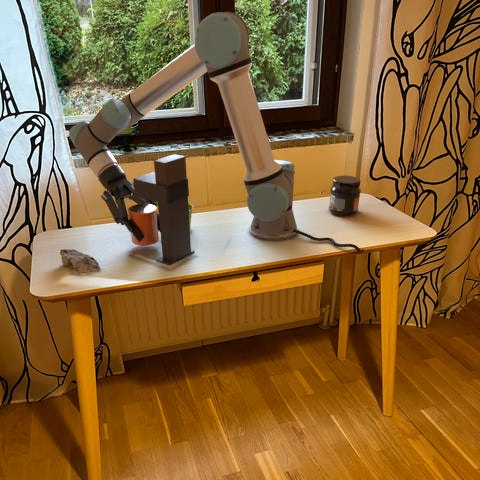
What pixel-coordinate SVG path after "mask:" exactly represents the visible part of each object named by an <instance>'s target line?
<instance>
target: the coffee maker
mask: <svg viewBox="0 0 480 480" xmlns="http://www.w3.org/2000/svg"><path fill="white" fill-rule="evenodd" d="M153 168H154V169H153V170H154V171H152V172H149V173H146V174H143V175H140V176H137V177H134V178H133V180H132V182H134V189H135V196H136V197H139V198H143V199H147V200H150V201H154V202H157V204H158V205H157V211H158V212H157V213H158V214H159V223H160V232H159V234H160V240H159V241H158V242H157V243H155V244H152V245H145V246H141V245H138V246H136V248H133V249H131V250H129V251H128V252H129V253H133V254H135V255H138V256H141V257H144V258H147V259H149V260H153V261H155V262H158V263H160V264H163V265H167V266H169V267H170V266H172V265H173V264H176V263H178V262H180V261H181V260H183V259H185V258H187V257H189V256H190V255H192V254H195V250H193V249H192V244H191V226H190V224H189V208H188V203H189V197H190V189H189V188H190V187H189V178H188V176H187V159H186V155H181V154H175V153H174V154H171V155H167V156H164V157H161V158H158V159H155V160H153Z"/></svg>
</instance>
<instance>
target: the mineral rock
mask: <svg viewBox="0 0 480 480" xmlns="http://www.w3.org/2000/svg"><path fill="white" fill-rule="evenodd" d="M59 255H60V256H61V263H62V265H63V266H67V268H69V270H75V271H77V272H78V273H80V274H81V273H83V274H84V273H93V272H100V271H101V267H100V265H99V262H98V261H97V259H95V257H93V256H91V255H89V254H85V253H83V252H80V251H79V250H76V249H74V248H73V249H70V248H64V249H60V252H59Z"/></svg>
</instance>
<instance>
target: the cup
mask: <svg viewBox="0 0 480 480" xmlns="http://www.w3.org/2000/svg"><path fill="white" fill-rule="evenodd" d="M127 213H128V217H129V219H131V218H132V219H133V221H134V222H135V224H136V225H137V226H138V228H139V229H140V231H141V232H142V234H143V235H144V236H145V237H144V238H143V239H142V240H141V241H140V242H138V240H137V239H136V237H135V236H134V234H133V233H132V232H130V239H131V243H132V244H133V245H135V246H145V245H152V244H155V243H157V242H158V241H160V235H159V234H160V233H159V230H158V223H157V213H158V212H157V206H156V207H155V206H154V205H151V204H137V203H136V204H133V205H131V206H129V207H128V208H127Z"/></svg>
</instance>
